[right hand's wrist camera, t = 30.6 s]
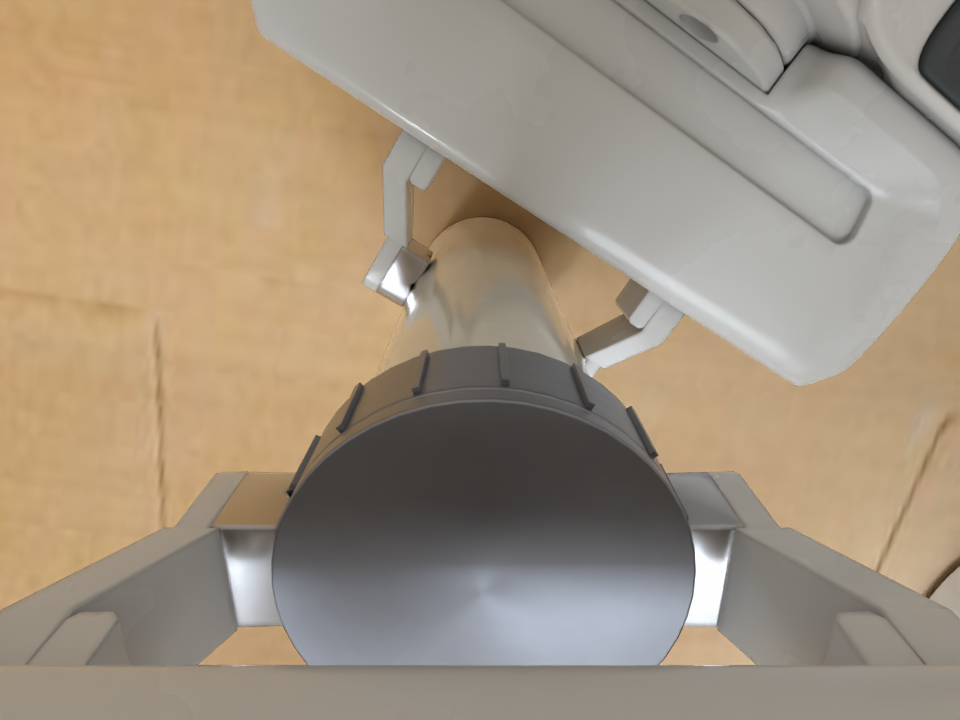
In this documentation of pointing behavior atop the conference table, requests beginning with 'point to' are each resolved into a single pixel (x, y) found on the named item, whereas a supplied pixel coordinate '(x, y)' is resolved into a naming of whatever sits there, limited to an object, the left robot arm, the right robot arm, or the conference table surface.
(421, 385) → the lid
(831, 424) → the conference table surface
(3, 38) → the conference table surface
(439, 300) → the jar
